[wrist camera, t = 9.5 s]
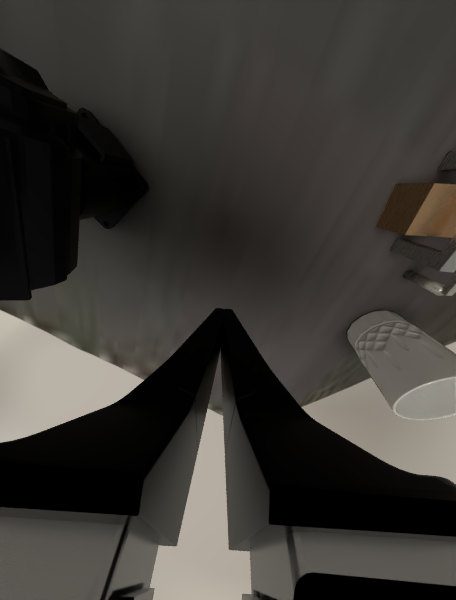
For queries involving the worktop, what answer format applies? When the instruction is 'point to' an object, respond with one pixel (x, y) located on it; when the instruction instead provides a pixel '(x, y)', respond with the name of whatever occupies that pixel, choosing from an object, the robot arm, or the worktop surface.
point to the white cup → (406, 365)
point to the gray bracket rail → (432, 252)
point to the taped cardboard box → (421, 210)
